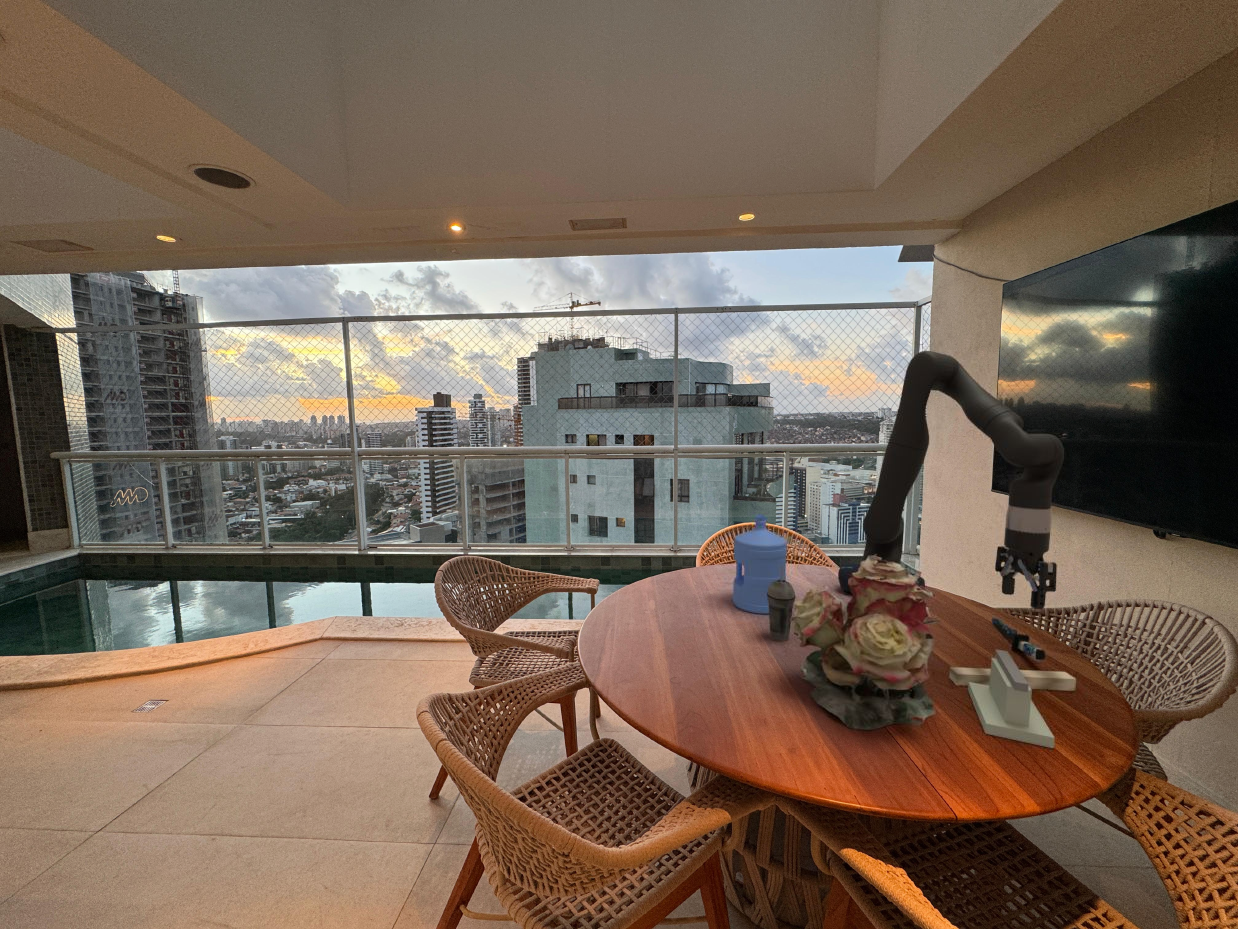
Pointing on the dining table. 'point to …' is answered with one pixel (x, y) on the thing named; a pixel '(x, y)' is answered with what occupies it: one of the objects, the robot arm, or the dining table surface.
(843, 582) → the portable speaker
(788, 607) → the beverage cup
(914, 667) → the rose bouquet
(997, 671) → the stand
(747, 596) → the water jug
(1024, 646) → the knife
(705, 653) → the dining table surface
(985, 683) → the bar
